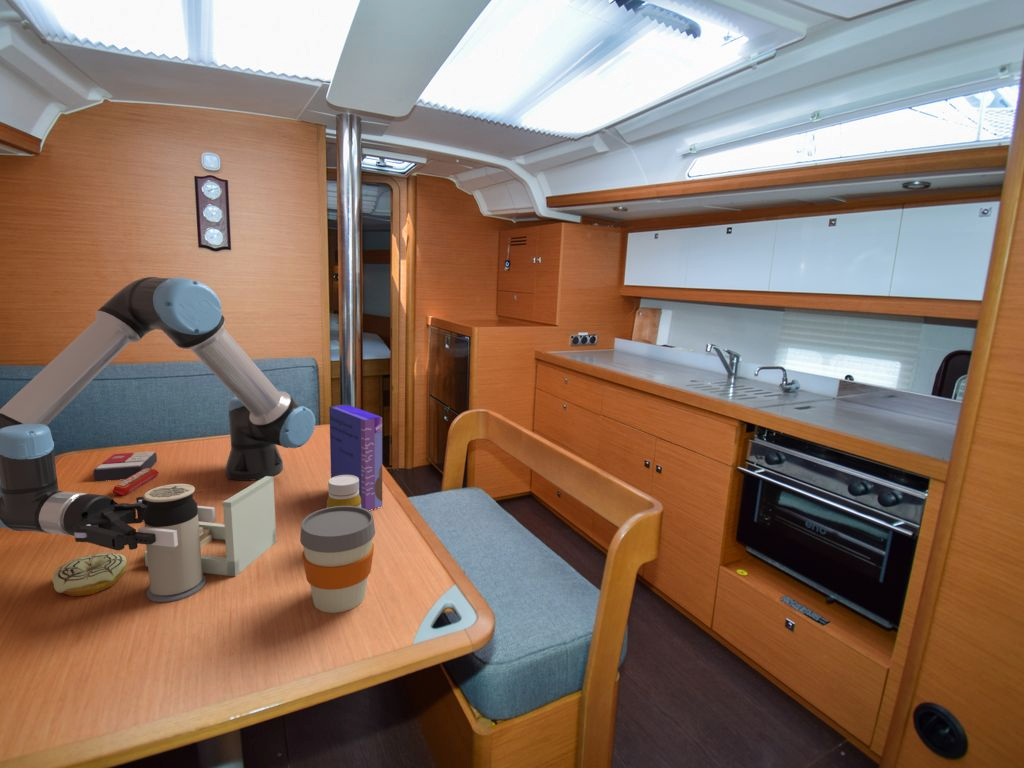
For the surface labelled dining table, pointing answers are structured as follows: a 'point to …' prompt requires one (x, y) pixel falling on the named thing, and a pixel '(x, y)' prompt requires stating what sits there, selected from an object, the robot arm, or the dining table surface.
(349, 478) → the bottle
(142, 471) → the candy bar
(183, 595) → the coaster
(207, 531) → the offcut stack
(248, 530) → the rack
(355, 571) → the reusable coffee cup
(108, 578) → the decorated donut
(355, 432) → the purple rectangular box
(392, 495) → the dining table surface
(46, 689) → the dining table surface
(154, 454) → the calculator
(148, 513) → the travel mug
